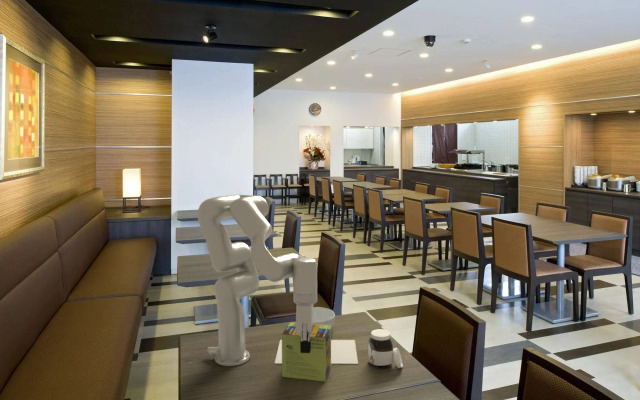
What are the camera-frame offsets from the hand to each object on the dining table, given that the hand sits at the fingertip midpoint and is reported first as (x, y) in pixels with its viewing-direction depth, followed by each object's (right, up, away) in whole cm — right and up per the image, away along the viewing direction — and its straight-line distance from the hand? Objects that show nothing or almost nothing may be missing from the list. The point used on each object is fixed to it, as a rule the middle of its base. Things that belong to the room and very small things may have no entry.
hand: (305, 351), depth 148 cm
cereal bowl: (+3, -7, +48) cm, 48 cm away
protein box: (0, -11, +11) cm, 16 cm away
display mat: (+3, -9, +27) cm, 29 cm away
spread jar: (+28, -10, +17) cm, 34 cm away
